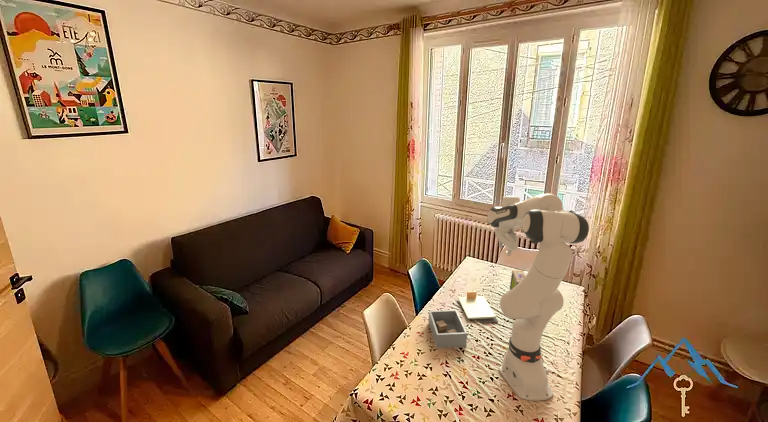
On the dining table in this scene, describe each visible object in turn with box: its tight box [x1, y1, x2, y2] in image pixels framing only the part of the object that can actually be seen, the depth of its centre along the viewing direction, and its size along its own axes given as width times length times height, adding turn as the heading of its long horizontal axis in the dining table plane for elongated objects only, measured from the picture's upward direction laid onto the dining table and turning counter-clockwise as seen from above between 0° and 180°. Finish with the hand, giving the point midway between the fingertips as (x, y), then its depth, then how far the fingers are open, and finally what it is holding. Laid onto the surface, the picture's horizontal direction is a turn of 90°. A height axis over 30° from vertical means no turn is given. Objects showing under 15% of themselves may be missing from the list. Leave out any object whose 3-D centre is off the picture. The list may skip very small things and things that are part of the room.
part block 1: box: [436, 320, 447, 334], centre depth 166 cm, size 4×4×4 cm
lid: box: [457, 290, 497, 320], centre depth 182 cm, size 19×15×6 cm
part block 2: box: [447, 329, 458, 333], centre depth 160 cm, size 4×4×4 cm
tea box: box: [508, 269, 529, 292], centre depth 192 cm, size 15×10×15 cm
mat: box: [456, 300, 499, 324], centre depth 183 cm, size 20×16×1 cm
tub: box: [428, 309, 468, 349], centre depth 163 cm, size 18×14×8 cm
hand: (504, 251), depth 176 cm, fingers open, 8 cm apart
